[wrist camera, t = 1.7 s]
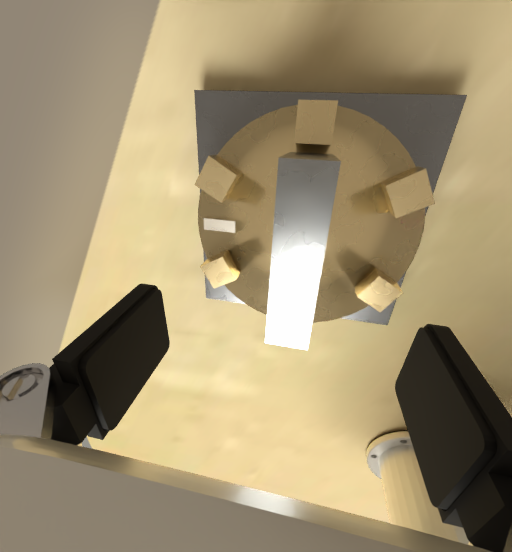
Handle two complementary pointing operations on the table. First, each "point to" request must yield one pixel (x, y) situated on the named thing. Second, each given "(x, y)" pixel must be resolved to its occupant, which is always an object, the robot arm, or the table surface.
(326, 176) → the round hub with lugs
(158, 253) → the table surface
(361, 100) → the base plate
